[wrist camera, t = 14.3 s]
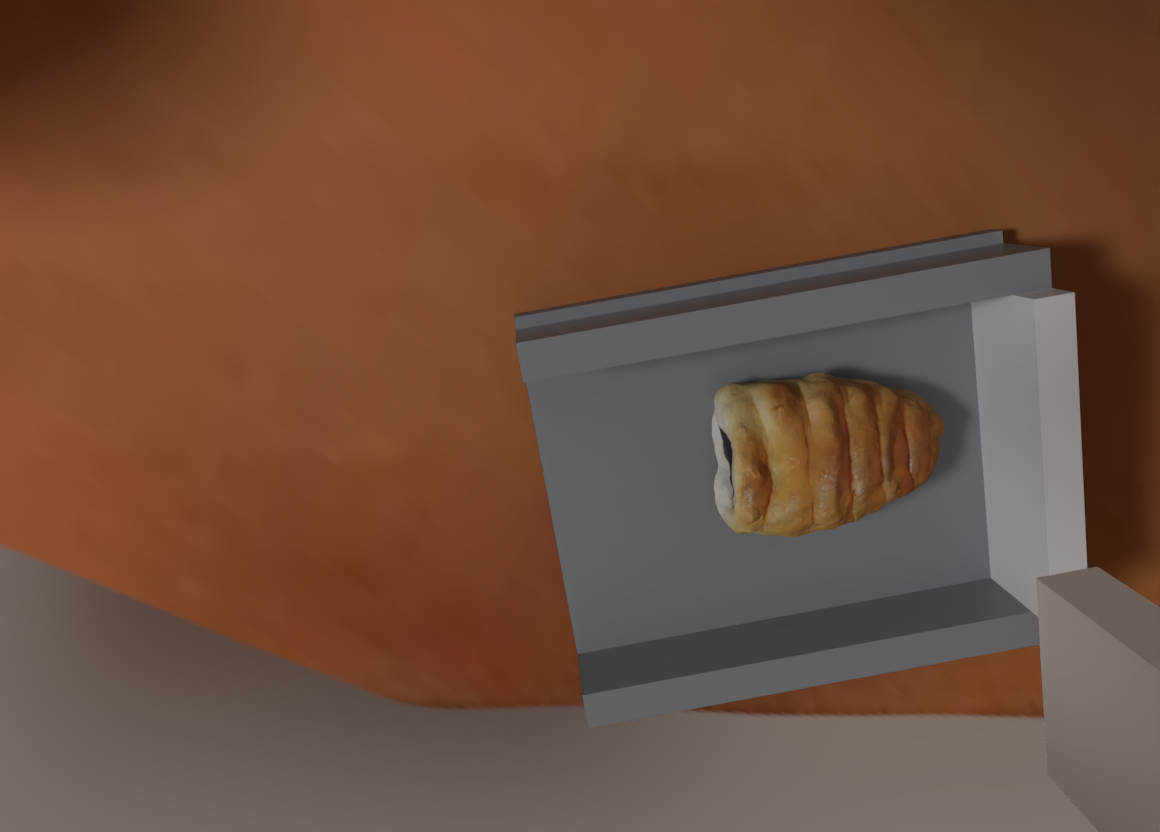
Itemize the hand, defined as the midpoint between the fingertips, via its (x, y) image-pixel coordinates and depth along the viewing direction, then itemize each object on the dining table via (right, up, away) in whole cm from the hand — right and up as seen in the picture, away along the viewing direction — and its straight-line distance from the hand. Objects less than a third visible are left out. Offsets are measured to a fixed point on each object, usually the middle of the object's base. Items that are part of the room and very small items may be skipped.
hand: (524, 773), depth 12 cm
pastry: (+10, +3, +29) cm, 30 cm away
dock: (+9, +2, +30) cm, 31 cm away
